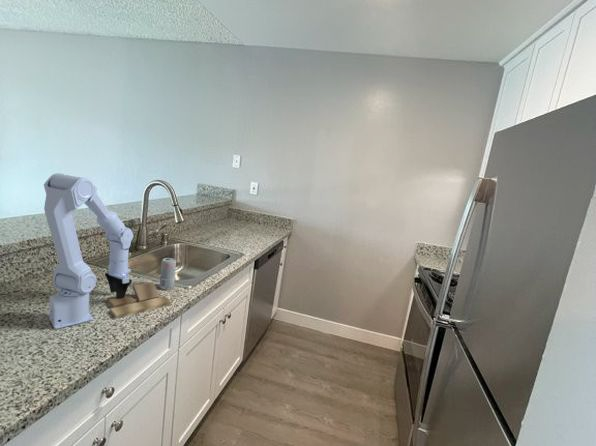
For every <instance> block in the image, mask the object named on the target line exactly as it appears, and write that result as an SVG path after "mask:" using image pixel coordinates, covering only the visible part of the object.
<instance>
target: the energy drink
mask: <svg viewBox="0 0 596 446" xmlns="http://www.w3.org/2000/svg"><path fill="white" fill-rule="evenodd" d="M160 267H161V269H160V280H159V281H160V282H159V288H160V289H161V290H163V291H171V290H173V289H174V288H175V281H176V280H175V279H176V270H177V269H176V268H177V260H176V259H175V257H174V258H173V257H165V258H162V261H161V265H160Z"/></svg>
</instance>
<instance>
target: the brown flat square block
mask: <svg viewBox="0 0 596 446" xmlns="http://www.w3.org/2000/svg"><path fill="white" fill-rule="evenodd" d="M106 302H107V303H108V305H110V307H111V308H115V307H119V306H124V305H128V304H133V303H137V299H136V298H134V297H133V296H132V295H130V294H129V293H126V294H125V297H124V298H121V299H117V296H115V295H114V296H109V297H106Z"/></svg>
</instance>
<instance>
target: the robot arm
mask: <svg viewBox="0 0 596 446" xmlns="http://www.w3.org/2000/svg"><path fill="white" fill-rule="evenodd" d="M43 187H44V191H45V194H46V195H45V200H44V201H45V202H44V208H43V209H44V214H45V216H46V221H47V224H48V228H49V232H50V235H51V239H52V243H53V247H54V250H55V253H56V257H57V261H58V265H56V266H55V267H54V268H53V279H52V282H53V285H54V287H56V289H57V293H55V294H53V295H50V296H49V316H48V318H49V319H48V320H49V321H50V323H51V325H52V326H53V328H54V329H55V330H57V329H62V328H67V327H70V326H73V325H74V326H75V325H80V324H82V323H86V322H90V321H94V317H93V315H92V314H90V293H91V292H92V291H93V290H94V288H95V286H96V284H97V276H96V275H95V274H94V272H93V271H92V270H93V269H92V268H91V267H90V266H89V265H88V264H87V263H85V261H84V259H83V256H82V251H81V247H80V242H79V239H78V235H77V230H76V226H75V221H74V218H73V217H74V216H73V212H74V211H75V210H77V209H79V208H81V207H82V206H83V205H84V204H85V205H86V207H87V208H89V210H90V211H91V212H93V214H94V215H96V216H97V217H96V223H97V224H98V225H99V226H100V227H101V229H102V230H103V231H104V232H105V239H106V240H108V241H109V259H108V260H109V261H108V262H109V263H108V265H107V271H108V272H106V273H104V276H105V279H107V283H108V287H109V290H110V293H112V294H113V293H115V294H116V296H117V299H121V298H124V297H125V294H127V291H128V288H129V287H130V285H131V284H132V282H133V280H132V279H131V278H130V277H129V273H131V272H132V269H131V268H129V250H130V249H129V248H130V247H131V245H132V243H131V242H132V241H133V239H134V233H133V231H132V230H131V228H130V227H126V226H125V224H124V222H123V221H122V220H121V219H120V218H119V216H118V213H117V212H115V211H113V210H108V208H107V207H106V205H105V203H104V202H103V200H102V199H101V196H99V194H98V192H97V190H98V188H97V186H96V185H94V183H93V181H92V180H91V179H90V178H88V177H79V176H74V175H68V174H64V173H60V172H58V173H53V174H51V175H50V176H49V178H48V179H46V181H45V182H44V184H43Z"/></svg>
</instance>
